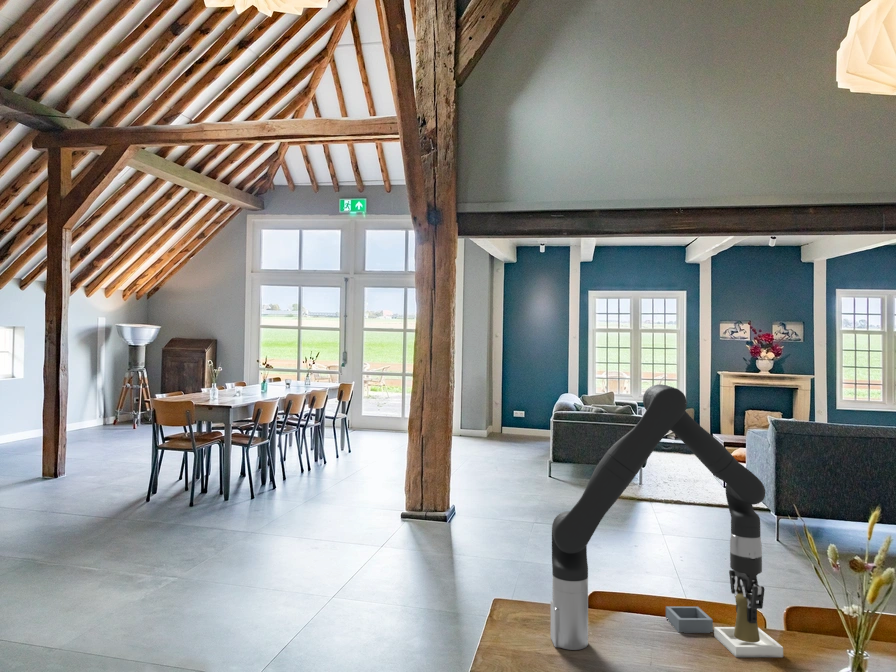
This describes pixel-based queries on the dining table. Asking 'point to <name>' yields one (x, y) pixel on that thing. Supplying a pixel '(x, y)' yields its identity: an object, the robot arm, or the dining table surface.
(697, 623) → the box
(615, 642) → the dining table surface
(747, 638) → the cork
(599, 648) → the dining table surface
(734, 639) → the tray
